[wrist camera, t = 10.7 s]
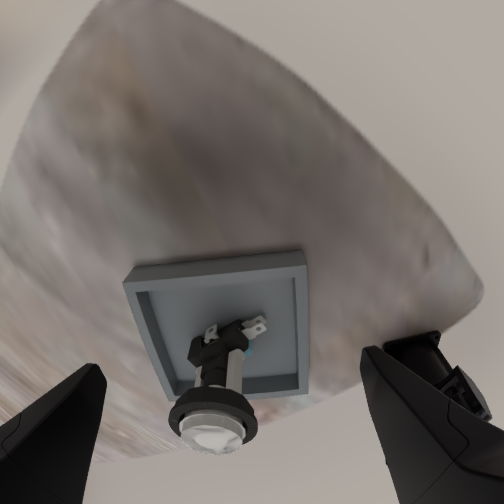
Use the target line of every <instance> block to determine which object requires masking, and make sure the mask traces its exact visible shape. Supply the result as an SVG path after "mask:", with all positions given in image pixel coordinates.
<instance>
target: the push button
mask: <svg viewBox="0 0 504 504" xmlns="http://www.w3.org/2000/svg"><path fill="white" fill-rule="evenodd" d="M257 320H261V323H259V324H258V323H256V321H257ZM265 323H266V320H265V319H264V318H263V317H262V316H261V315H260V316H258V317H256V318H255V319H253V320H251V321H248V320H247V321H246V322H244V323H243V322H242V321H241V320H240V319H237V320H235V321H233V322H232V323H230V324H228V325H226V326H224V327H222V328H221V329H219V330H217V324H215V325H213V326H211V327H209V328H208V329H207V330H206V333H205V337H204V338H202V337H201V336H197V337H195V338H194V339H193V340H192V341H191V344H190V349H189V353H188V357H187V360H188V361H189V362H191V363H192V364H193V365H194V366H195V367H196V368H197V369H196V374H197V375H196V381H195V386H194V388H190V389H188V390H187V391H186V392H185V393H184V394H183V395H182V396H180V397H179V398H178V399H177V400H176V404H175V406H174V407H173V408H172V409H171V411H170V414H169V419H168V421H169V425H170V427H171V429H172V430H173V431H174V432H175V433H176V434H177V435H178V436H179V437H181V440H182V441H183V442H184V444H185V445H187V446H188V447H189V448H191V449H193V450H196V451H199V452H201V453H205V454H215V455H220V454H227V453H232V452H233V451H236V450H238V449H239V448H240V446H241V445H243V444H245V443H247V442H249V441H251V440H252V439H253V438H254V437H255V435H256V434H257V431H258V423H257V419H256V417H255V416H254V409H253V408H252V406H251V405H250V404H249V402H248V401H247V399H246V398H245V397H244V395H242V362H243V360H244V359H245V358H246V357H248V356H250V355H251V354H252V352H253V343H252V339H254V338H256V335H258V334H260V333H262V332H264V331H266V330H267V328H266V327H265V326H264V324H265ZM257 327H261V330H260V331H257V330H256V328H257ZM211 329H213V331H212V332H210V333H209V331H210V330H211Z"/></svg>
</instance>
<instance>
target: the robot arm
mask: <svg viewBox="0 0 504 504" xmlns="http://www.w3.org/2000/svg"><path fill="white" fill-rule="evenodd" d="M440 338H441V334H440V333H439V331H435V332H431V333H427V334H423V335H419V336H415V337H410V338H406V339H402V340H397V341H392V342H388V343H386V344H384V346H383V348H382V350H381V349H380V348H379V347H377V346H375V345H373V346H368V347H364V348H363V350H362V355H361V362H360V372H361V377H362V381H363V385H364V389H365V394H366V398H367V403H368V407H369V411H370V414H371V417H372V420H373V423H374V426H375V429H376V432H377V434H378V437H379V440H380V443H381V446H382V449H383V452H384V455H385V459H386V465H387V466H388V468H389V470H390V474H391V477H392V480H393V483H394V487H395V490H396V493H397V497H398V500H399V503H400V504H504V431H503V430H502V429H500V428H498V427H496V426H494V425H492V424H490V423H488V421H490V420H491V419H492V415H491V413H490V410H489V408H488V406H487V403H486V401H485V399H484V397H483V395H482V394H481V392H480V391H479V389H478V388H477V386H476V385H475V383H474V382H473V381H472V379H471V378H470V377H469V376H468V375H467V374H466V373H465V372H464V371H463V370H462V369H461V368H460V367H459V366H458V365H457V366H456V367H455V368H454V369H452V368H451V366H450V364H449V363H448V362H447V360H446V359H445V357H444V356H443V354H442V353H441V351H440V350H439V348H438V344H439V341H440ZM388 347H389V348H388ZM106 388H107V381H106V378H105V377H104V375H103V373H102V371H101V369H100V367H99V366H98V365H97V364H93V363H87V364H85V365H84V366H82V367H81V368H80V369H78V370H77V371H76V372H74V373H73V374H72V375H70V376H69V377H67V378H66V379H65V380H63V381H62V382H61V383H59V384H58V385H57V386H55V387H54V388H52V389H51V390H50V391H48V392H47V393H46V394H44V395H43V396H42V397H40V398H39V399H38V400H36V401H35V402H34V403H32V404H31V405H29V406H28V407H27V408H25V409H24V410H23V411H22V412H20V413H19V414H17V415H16V416H15V417H13V418H12V419H10V420H9V421H8V422H6V423H5V424H3V425H2V426H0V504H82V502H83V496H84V491H85V486H86V481H87V476H88V471H89V467H90V463H91V458H92V454H93V450H94V446H95V442H96V438H97V434H98V430H99V426H100V422H101V417H102V411H103V405H104V399H105V394H106Z"/></svg>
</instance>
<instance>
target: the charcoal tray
mask: <svg viewBox="0 0 504 504" xmlns="http://www.w3.org/2000/svg"><path fill="white" fill-rule="evenodd" d="M122 284H123V287H124V290H125V293H126V296H127V299H128V302H129V305H130V308H131V310H132V313H133V316H134V319H135V322H136V324H137V327H138V330H139V332H140V335H141V337H142V340H143V343H144V345H145V348H146V350H147V353H148V355H149V357H150V360H151V362H152V365H153V367H154V369H155V372H156V374H157V376H158V378H159V381H160V383H161V385H162V387H163V390H164V392H165V394H166V396H167V398H168V400H169V401H176V400H177V399H178V398H179V397H180V396H182V395H183V394H184V393H185V392H186V391H187V390H188V389H190V388H194V386H195V381H196V375H197V374H196V369H197V368H196V367H195V366H194V365H193V364H192V363H191V362H189V361H188V360H187V357H188V353H189V349H190V344H191V341H192V340H193V339H194V338H195V337H197V336H201V337H202V338H204V337H205V333H206V330H207V329H208V328H209V327H211V326H213V325H215V324H217V330H219V329H221V328H222V327H224V326H226V325H228V324H230V323H232V322H233V321H235V320H237V319H240V320H241V321H242V322H243V323H244V322H246V321H247V320H248V321H251V320H253V319H255V318H256V317H258V316H260V315H261V316H262V317H263V318H264V319H265V320H266V323H265V324H264V326H265V327H266V328H267V330H266V331H264V332H262V333H260V334H258V335H256V338H254V339H252V343H253V352H252V354H251V355H250V356H248V357H246V358H245V359H244V360H243V362H242V395H244V397H245V398H246V399H247V400H251V399H264V398H275V397H285V396H294V395H302V394H308V376H309V329H308V283H307V264H306V261H305V259H304V256H303V254H302V251H301V250H296V251H286V252H277V253H267V254H258V255H248V256H239V257H229V258H220V259H210V260H201V261H191V262H181V263H172V264H162V265H152V266H143V267H134V268H133V269H132V271H131V272H130V273H129V275H128V276H127V277H126V279H125V280H124V281H123V283H122ZM256 323H258V324H259V323H261V320H257V321H256ZM256 330H257V331H260V330H261V327H257V328H256ZM212 331H213V329H211V330H210V331H209V333H210V332H212Z"/></svg>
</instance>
